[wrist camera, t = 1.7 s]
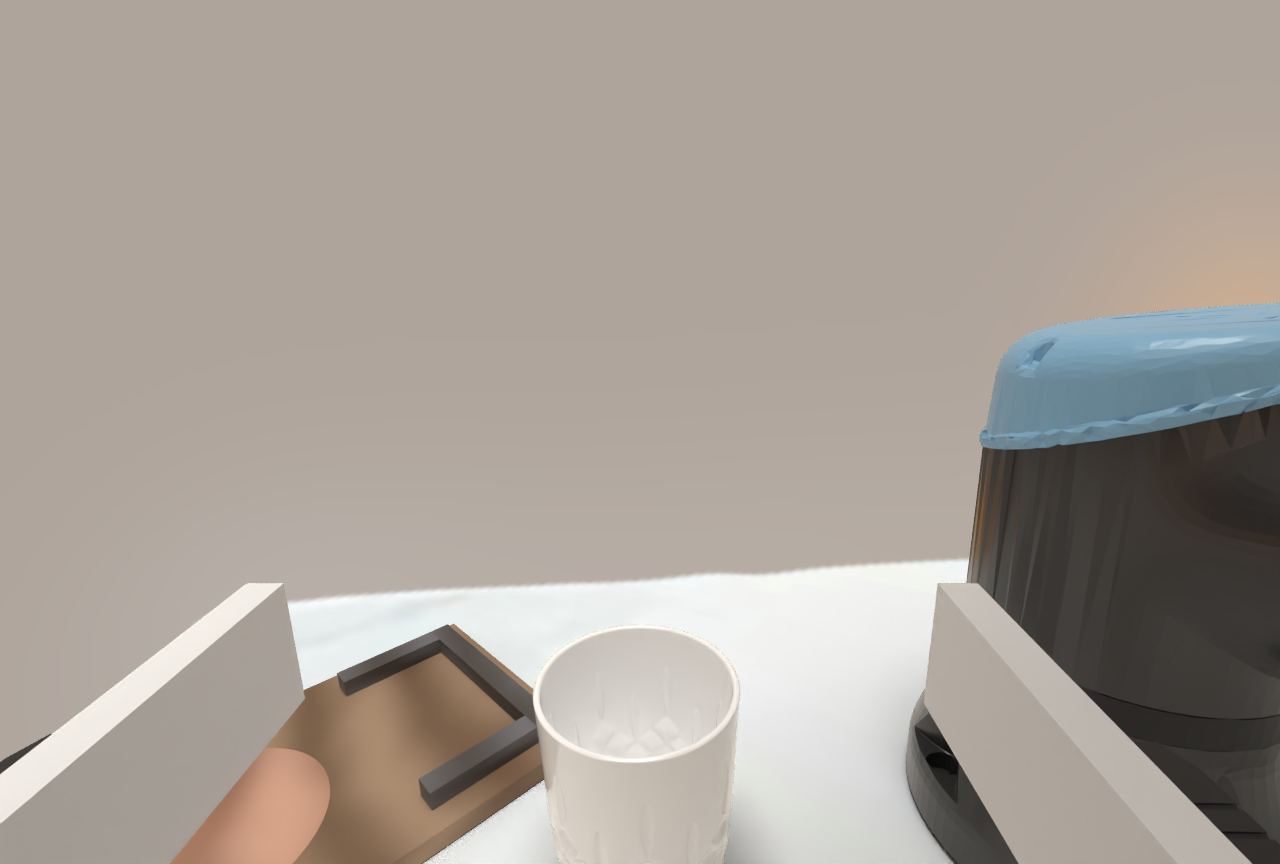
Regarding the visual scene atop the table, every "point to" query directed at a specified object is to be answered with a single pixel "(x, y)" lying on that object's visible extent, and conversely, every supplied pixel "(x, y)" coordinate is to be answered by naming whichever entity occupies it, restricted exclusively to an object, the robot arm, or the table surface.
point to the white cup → (638, 747)
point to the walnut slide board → (383, 762)
